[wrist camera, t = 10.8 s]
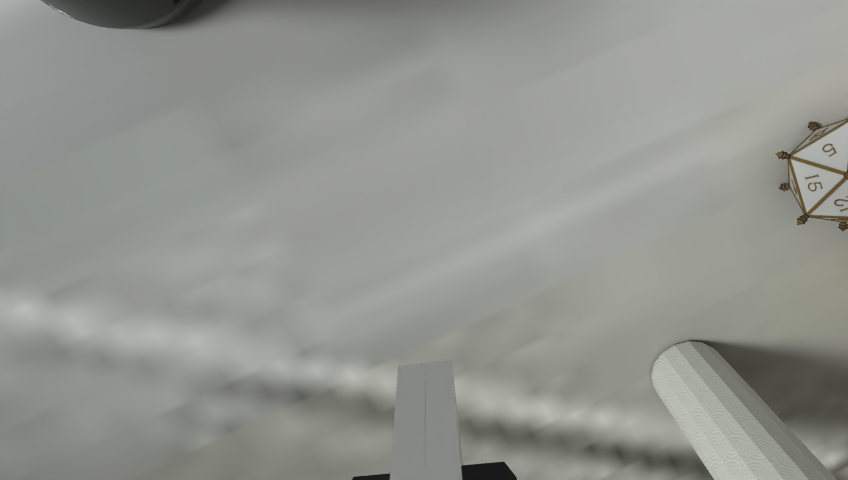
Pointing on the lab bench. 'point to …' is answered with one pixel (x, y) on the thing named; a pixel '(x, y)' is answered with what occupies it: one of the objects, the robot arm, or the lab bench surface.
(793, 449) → the paper towel roll
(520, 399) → the lab bench surface
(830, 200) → the game die
